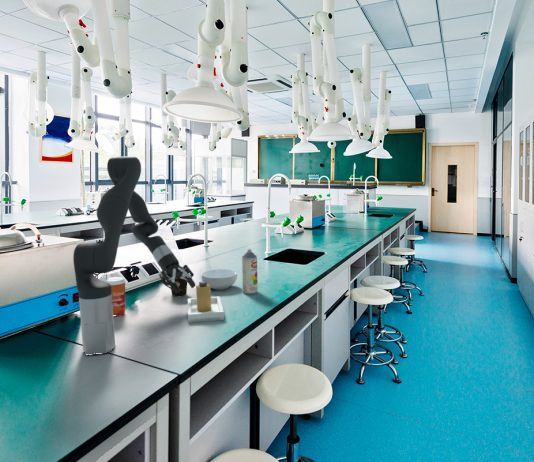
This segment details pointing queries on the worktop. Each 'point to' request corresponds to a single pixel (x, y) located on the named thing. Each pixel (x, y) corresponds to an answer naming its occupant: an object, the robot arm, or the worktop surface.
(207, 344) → the worktop surface
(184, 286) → the coffee mug
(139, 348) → the worktop surface
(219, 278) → the cereal bowl
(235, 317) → the worktop surface
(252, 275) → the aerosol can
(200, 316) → the lab tray
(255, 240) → the worktop surface
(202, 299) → the amber bottle
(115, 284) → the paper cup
